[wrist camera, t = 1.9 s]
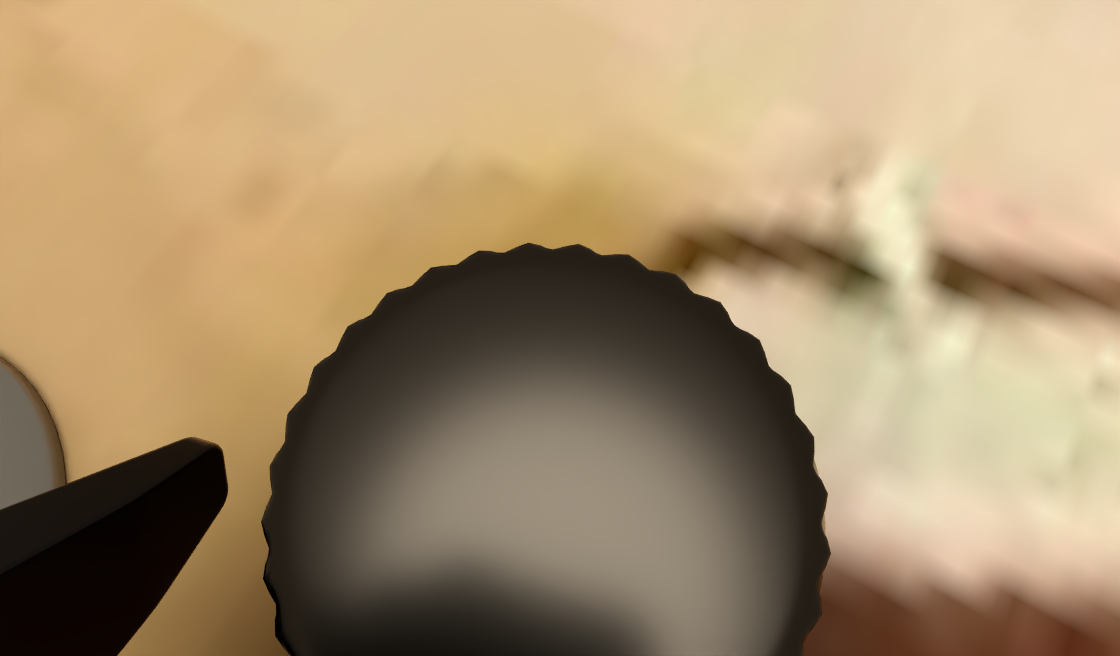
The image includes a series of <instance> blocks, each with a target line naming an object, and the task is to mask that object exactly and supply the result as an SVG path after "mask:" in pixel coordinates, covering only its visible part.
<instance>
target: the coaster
mask: <svg viewBox="0 0 1120 656" xmlns="http://www.w3.org/2000/svg"><path fill="white" fill-rule="evenodd" d="M65 484H66V479H65V471H64V463H63V454H62V450H61V446H60V443H59V439H58V435H57V431H56V428H55V426H54V424H53V421H52V419H51V417H50V415H49V412H48V410H47V408H46V406H45V404H44V403H43V401H42V400H41V398H40V397H39V395H38V393H37V392H36V390H35V389H34V388H33V386H32V385H31V384H30V383H29V382H28V381H27V380H26V379H25V377H24V376H23V375H22V374H21V373H20V372H19V371H18V370H17V369H15V368H14V367H13V366H12V365H10V364H9V363H8V362H7V361H5V360H4V359H3V358H1V357H0V509H3V508H5V507H8V506H11V505H13V504H16V503H18V502H21V501H24V500H26V499H29V498H31V497H34V496H36V495H39V494H42V493H44V492H47V491H49V490H52V489H55V488H57V487H60V486H62V485H65Z"/></svg>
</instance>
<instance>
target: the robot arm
mask: <svg viewBox="0 0 1120 656" xmlns="http://www.w3.org/2000/svg"><path fill="white" fill-rule="evenodd" d="M227 494H228V483H227V476H226V469H225V462H224V455H223V450H222V449H221V447H220V446H219V445H217V444H215V443H212V442H209V441H206V440H203V439H199V438H195V437H189V438H185V439H182V440H179V441H176V442H174V443H171V444H169V445H166V446H163V447H161V448H158V449H156V450H153V451H151V452H148V453H145V454H143V455H140V456H138V457H135V458H132V459H130V460H127V461H125V462H122V463H119V464H117V465H114V466H112V467H109V468H106V469H104V470H101V471H99V472H96V473H93V474H91V475H88V476H86V477H83V478H81V479H78V480H75V481H73V482H70V483H68V484H65V485H62V486H60V487H57V488H55V489H52V490H49V491H47V492H44V493H42V494H39V495H36V496H34V497H31V498H29V499H26V500H24V501H21V502H18V503H16V504H13V505H11V506H8V507H5V508H3V509H0V656H117V655H118V654H119V653H120V652H121V650H122V649H123V648H124V647H125V645H126V644H127V643H128V642H129V641H130V639H131V638H132V637H133V636H134V634H135V633H136V632H137V631H138V629H139V628H140V627H141V626H142V624H143V623H144V622H145V621H146V619H147V618H148V617H149V615H150V614H151V613H152V612H153V610H154V609H155V608H156V606H157V605H158V603H159V602H160V601H161V599H162V598H163V596H164V595H165V594H166V592H167V591H168V589H169V588H170V586H171V585H172V583H173V582H174V580H175V579H176V577H177V576H178V574H179V573H180V571H181V569H182V568H183V566H184V565H185V563H186V562H187V560H188V559H189V557H190V556H191V554H192V553H193V551H194V550H195V548H196V547H197V545H198V544H199V542H200V541H201V539H202V538H203V536H204V535H205V533H206V532H207V530H208V529H209V527H210V526H211V524H212V522H213V521H214V519H215V518H216V516H217V515H218V513H219V512H220V510H221V509H222V507H223V505H224V503H225V501H226V498H227Z"/></svg>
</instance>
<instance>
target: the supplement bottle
mask: <svg viewBox="0 0 1120 656" xmlns="http://www.w3.org/2000/svg"><path fill="white" fill-rule="evenodd" d="M270 481H271V488H272V495H271V498H270V500H269V502H268V505H267V507H266V509H265V512H264V515H263V518H262V521H261V523H262V527H263V531H264V536H265V538H266V541H267V544H268V547H269V553H268V558H267V561H266V564H265V569H264V576H263V580H264V582H265V584H266V587H267V589H268V591H269V593H270V595H271V597H272V598H273V600H274V602H275V603H276V618H275V636H276V638H277V639H278V641H279V642H280V644H281V645H282V646H283V648H284V649H285V650H286V651H287V652H288V654H289V655H290V656H803V644H804V642H805V639H806V637H807V635H808V633H809V632H810V631H811V630H812V628H813V627H814V626H815V624H816V622H817V621H818V619H819V618H820V616H821V615H822V606H821V597H820V588H821V583H822V578H823V571H824V569H825V567H826V565H827V562H828V560H829V557H830V555H831V552H830V548H829V544H828V540H827V538H826V536H825V516H824V512H825V508H826V502H827V496H828V493H827V491H826V489H825V486H824V484H823V482H822V480H821V479H820V477H819V476H818V471H817V468H816V464H815V461H814V436H813V435H812V434H811V432H810V431H809V429H808V428H807V427H806V425H805V424H804V423H803V422H802V421H801V420H800V418H799V417H798V416H797V415H796V413H795V407H794V398H793V393H792V389H791V385H790V384H789V383H788V382H787V381H786V380H785V379H784V378H783V377H782V376H781V375H779V374H778V373H776V372H774V371H773V370H772V369H771V368H770V367H769V365H768V362H767V359H766V355H765V352H764V350H763V347H762V345H761V342H760V340H759V339H757V338H756V337H754V336H753V335H751V334H750V333H748V332H746V331H743V330H741V329H739V328H738V327H736V326H735V325H734V324H733V322H732V321H731V319H730V317H729V314H728V312H727V311H726V309H725V308H724V307H723V305H722V304H721V302H718V301H716V300H713V299H711V298H708V297H705V296H701V295H698V294H694V293H693V292H692V291H691V290H690V289H689V288H688V286H687V285H686V283H685V282H684V281H683V280H682V279H681V278H680V277H679V276H678V275H677V274H673V273H668V272H663V271H653V270H648V269H647V268H646V267H645V266H644V265H642V264H641V263H640V262H639V261H637V260H636V259H634V258H633V257H631V256H630V255H622V254H614V255H599V254H597V253H595V252H594V251H592V250H591V249H589V248H587V247H585V246H582V245H580V244H576V245H570V246H565V247H561V248H557V249H553V250H552V249H548V248H545V247H543V246H541V245H536V244H532V243H526V244H524V245H521V246H518V247H516V248H514V249H511V250H509V251H507V252H505V253H496V252H493V251H477V252H476V253H474V254H472V255H471V256H469V257H467V258H466V259H465V260H463V261H462V262H460V263H459V264H457V265H448V266H439V267H432V268H430V269H429V270H428V271H427V272H426V273H424V274H423V275H422V276H421V277H420V278H419V279H418V280H417V281H416V282H415V283H414V284H413V285H412V286H410V287H407V288H404V289H398V290H395V291H392V292H389V293H387V294H386V295H385V296H384V298H383V299H382V300H381V301H380V303H379V304H378V305H377V307H376V308H375V310H374V311H373V313H372V314H371V315H370V316H368V317H366V318H364V319H361V320H358V321H357V322H355V323H353V324H351V325H350V326H348V327H347V329H346V330H345V332H344V334H343V336H342V338H341V340H340V342H339V344H338V347H337V349H336V351H335V352H334V353H332V354H331V355H330V356H329V357H327V358H325V359H323V360H322V361H321V362H320V363H318V364H317V365H316V366H315V367H314V369H313V372H312V375H311V378H310V381H309V385H308V389H307V393H306V394H305V395H304V396H303V397H302V398H301V399H300V400H299V401H298V403H297V404H296V405H295V406H294V407H293V408H292V409H291V411H290V412H289V413H288V415H287V422H286V432H285V442H284V444H283V446H282V448H281V449H280V451H279V452H278V453H277V454H276V456H275V458H274V459H273V461H272V463H271V465H270Z"/></svg>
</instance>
